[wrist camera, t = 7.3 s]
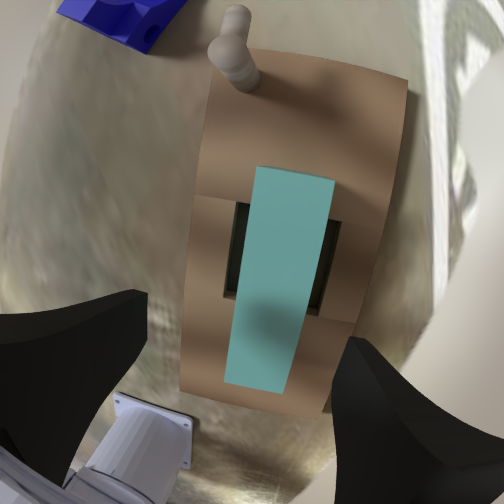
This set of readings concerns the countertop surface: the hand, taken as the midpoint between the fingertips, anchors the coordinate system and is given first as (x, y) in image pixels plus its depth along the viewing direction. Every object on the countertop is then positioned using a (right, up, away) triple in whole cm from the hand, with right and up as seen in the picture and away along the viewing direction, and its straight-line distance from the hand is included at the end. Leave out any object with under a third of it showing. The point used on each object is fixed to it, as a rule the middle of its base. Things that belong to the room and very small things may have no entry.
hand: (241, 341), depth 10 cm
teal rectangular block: (+2, +2, +8) cm, 8 cm away
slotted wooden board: (+2, +3, +9) cm, 9 cm away
